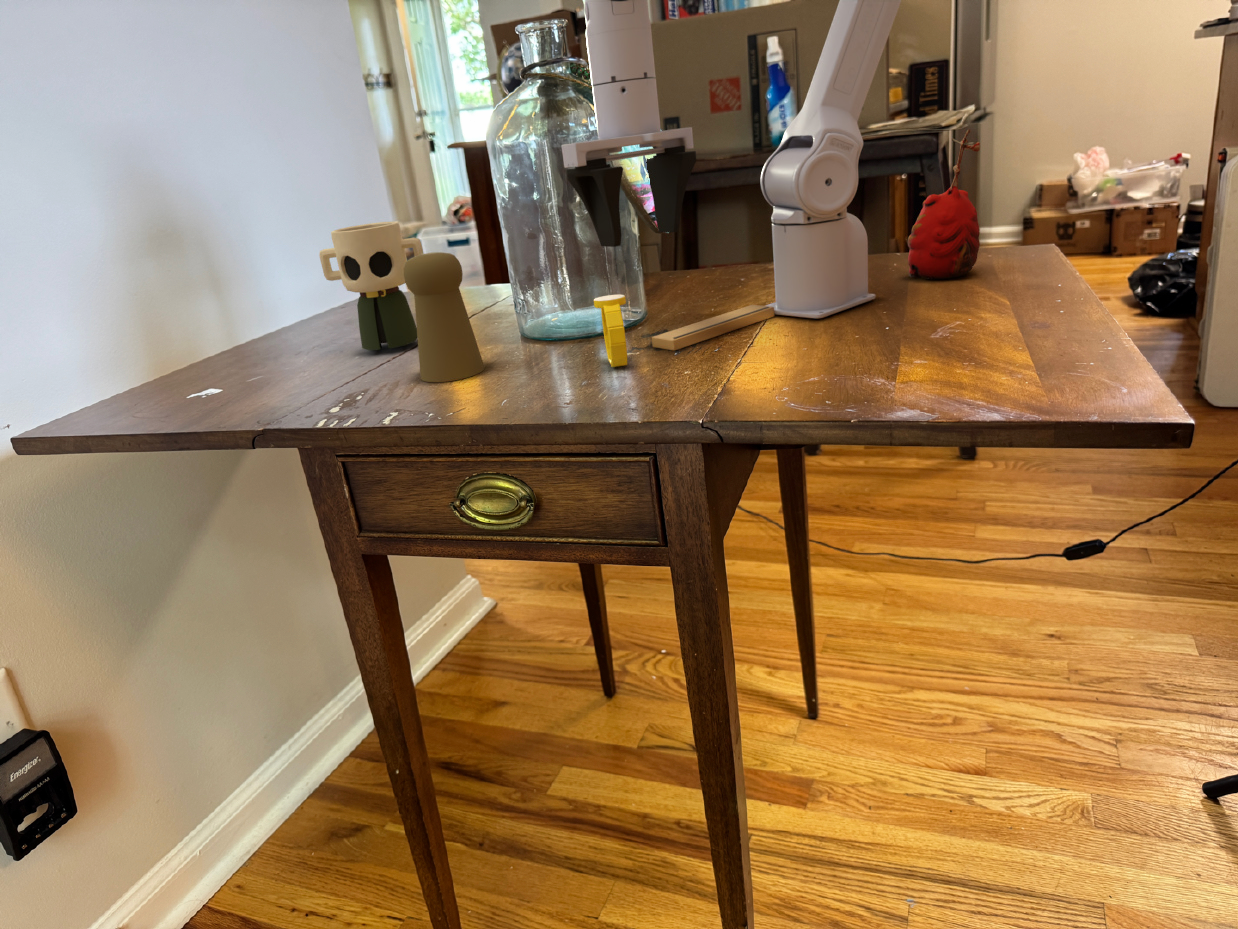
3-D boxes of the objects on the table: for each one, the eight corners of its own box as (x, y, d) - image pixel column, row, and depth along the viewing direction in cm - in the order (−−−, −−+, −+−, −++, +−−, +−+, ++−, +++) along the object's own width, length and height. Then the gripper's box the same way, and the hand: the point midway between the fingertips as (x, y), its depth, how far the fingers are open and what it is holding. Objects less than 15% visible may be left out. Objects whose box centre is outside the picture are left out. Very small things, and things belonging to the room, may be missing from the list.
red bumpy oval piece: (945, 266, 98) (949, 128, 92) (994, 272, 92) (1001, 124, 86) (894, 278, 95) (894, 136, 90) (941, 285, 89) (944, 133, 84)
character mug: (334, 361, 90) (302, 237, 85) (352, 345, 96) (323, 229, 92) (435, 349, 90) (409, 223, 85) (446, 334, 96) (423, 216, 91)
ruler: (752, 314, 87) (751, 303, 87) (774, 316, 85) (774, 305, 85) (652, 347, 79) (651, 336, 79) (674, 350, 77) (673, 339, 77)
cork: (471, 380, 76) (447, 256, 72) (409, 384, 77) (383, 262, 73) (493, 361, 81) (472, 245, 77) (435, 365, 83) (412, 251, 79)
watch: (637, 370, 72) (629, 301, 70) (605, 374, 72) (596, 305, 70) (628, 353, 78) (621, 289, 76) (599, 358, 78) (590, 293, 76)
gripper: (591, 82, 68) (611, 253, 73) (712, 72, 77) (723, 226, 82) (538, 92, 73) (561, 251, 78) (657, 81, 82) (671, 226, 87)
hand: (640, 238), depth 80 cm, fingers open, 7 cm apart
